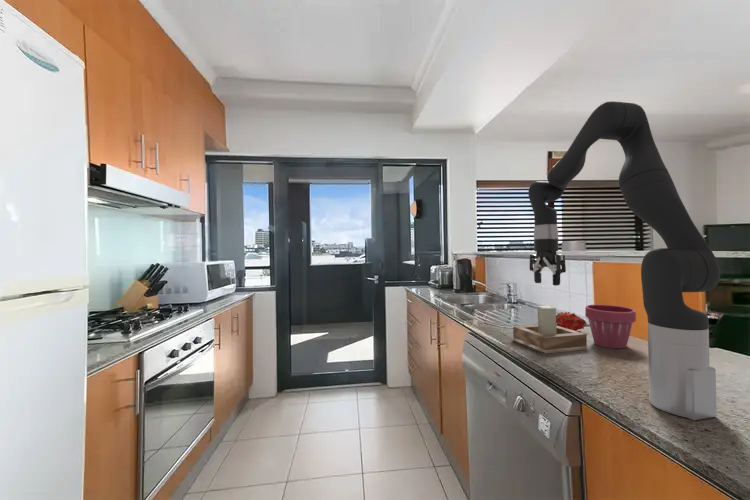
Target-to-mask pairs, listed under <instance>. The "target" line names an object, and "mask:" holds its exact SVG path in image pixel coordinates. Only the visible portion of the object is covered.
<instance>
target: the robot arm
mask: <svg viewBox="0 0 750 500" xmlns="http://www.w3.org/2000/svg"><path fill="white" fill-rule="evenodd" d="M600 139H601V140H608V141H617V142H618V143H619V144H620V146H621V148H622V151H623V153H624V156H625V157H624V158H625V159H624V162H623V164H622V168H621V170H620V172H619V176H618V187H619V189H620V193H621V194H622V197H623V200H624V202H625V205H626V206H627V208H628V209H629V210H630V211H631V212H632V213H633V214H634V215H636V217H638V218H639V219H640V220H642V221H643V222H644V223H646V225H648V226H649V227H651V228H652V229H653V230H654V231H655V232H656V233H657V234H658V235H659V236H660V237H661V239H662V240H663V242H664V244H665V245H666V247H665V248H654V249H651V250H649V251H648V252H646V253H645V255H644V256H643V258H642V261H641V266H640V279H641V289H642V301H643V302H642V303H643V308H644V310H645V313H646V316H647V346H648V347H647V354H648V355H647V356H648V357H647V358H648V395H649V397H648V399H649V400H648V401H649V403H650V404H651V405H652V406H653V407H654V408H656V409H659V410H661V411H663V412H666V413H669V414H672V415H675V416H679V417H683V418H687V419H689V420H692V421H699V420H703V419H704V420H705V419H709V418H714V417H717V416H718V415H717V413H718V412H717V411H718V410H717V370H716V368H715V367H713V366H710V330H709V327H710V326H709V325H710V323H709V317H708V315H707V314H706V313H705V312H702V311H700V310H696V309H693V308H691V307H690V306H688V305H687V304H686V303H685V301H684V297H683V293H704V292H708V291H712V290H713V289H714V288H716V286H718V284H719V283H720V279H721V268H720V266H719V265H720V264H719V262H718V260H717V258H716V256H715V254H714V252H713V251H712V249H711V248H710V246H709V245H708V243H707V241H706V240H705V238H704V237H703V235H702V234H701V232H700V231H699V229H698V228H697V226H696V225H695V223H694V222H693V219H692V218H691V216H690V214H689V212H688V210H687V208H686V206H685V205H684V202H683V200H682V199H681V196H680V194H679V192H678V191H677V188H676V185H675V183H674V180H673V179H672V176H671V175H670V172H669V170H668V169H667V167H666V165H665V163H664V161H663V159H662V157H661V154H660V152H659V149H658V147H657V145H656V143H655V141H654V137H653V134H652V130H651V127H650V124H649V120H648V117H647V114H646V112H645V110H644V109H643V107H642V106H641V105H639V104H636V103H633V102H626V101H625V102H623V101H604V102H601V103H600V105H598V106H597V107H596V108H595V109H594V110H593V111H592V112H591V114H590V115H589V117H588V118H587V120H585V123H584V124H583V126H582V127H581V129H580V130H579V131H578V134H577V135H576V136H575V138H574V139H573V141H572V143H571V144H570V146H569V147H568V149H567V151H566V152H565V153H564V154H563V155H562V157H561V158H560V160H558V161H557V163H555V165H554V166H553V167H552V168H551V169H550V171H549V172H548V173H547V175H546V179H547V180H546V181H545V180H543V181H541V180H540V181H539V180H537V181H534V182H532V183H531V185H529V188H528V192H527V193H528V199H529V201H530V205H531V207H532V211H533V215H534V218H533V219H534V227H533V228H534V229H533V246H534V247H533V249H534V252H536V254H530V255H529V271H531V272H533V278H534V279H533V280H534V283H535V284H541V283H542V271H543V269H544V268H548V269H549V270H551V273H552V286H560V285H561V274H563V273H566V271H567V269H566V267H567V266H566V255H565V254H557V252H558V251H559V229H558V212H557V210H556V208H553V207H549V206H548V205H547V203H546V202H555V201H557V200H559V199H560V198H561V197H562V195H563V194H564V192H565V191H566V188H567V186H568V184H569V183H571V181H573V180H574V179H575V178H576V177H577V176H578V175H579V174H580V173H581V171H583V168H584V166H585V163H586V157H587V153H588V150H589V149H590V147H591V146H593V144H594V143H596V142H597V141H599V140H600Z"/></svg>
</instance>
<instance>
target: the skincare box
mask: <svg viewBox="0 0 750 500" xmlns="http://www.w3.org/2000/svg"><path fill="white" fill-rule="evenodd" d="M556 315H557V309H556V307H553V306H552V305H537V325H538V332H539V333H541V334H544V335H555V334H557V327H556V325H557V323H556Z"/></svg>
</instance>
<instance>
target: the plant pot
mask: <svg viewBox="0 0 750 500" xmlns="http://www.w3.org/2000/svg"><path fill="white" fill-rule="evenodd" d="M584 312H585V314H584V315H585V317H586V318H587V319H588V322H589V327H590V331H591V335H592V338H593V343H594V344H595V345H598V346H599V347H603V348H604V347H605V348H609V349H625V348H627V345H628V342H629V339H630V335H631V330H632V327H633V323H635V322H636V321H637V320H636V319H637V314H636V310H635V309H633V308H631V307H625V306H620V305H611V304H588V305H586V306H585V311H584Z"/></svg>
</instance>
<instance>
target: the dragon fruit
mask: <svg viewBox="0 0 750 500" xmlns="http://www.w3.org/2000/svg"><path fill="white" fill-rule="evenodd" d="M587 325H588V322H587V321H586V320H585V319H583V318H581V317H580V316H578V315H576V313H575V312H572V313H571V312H570V311H565V312H562V311H560V313H556V326H560V327H563V328H567V329H570V330H574V331H577V332H581V333H582V331H581V330H582V329H583V330H584V328H585V326H587Z"/></svg>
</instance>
